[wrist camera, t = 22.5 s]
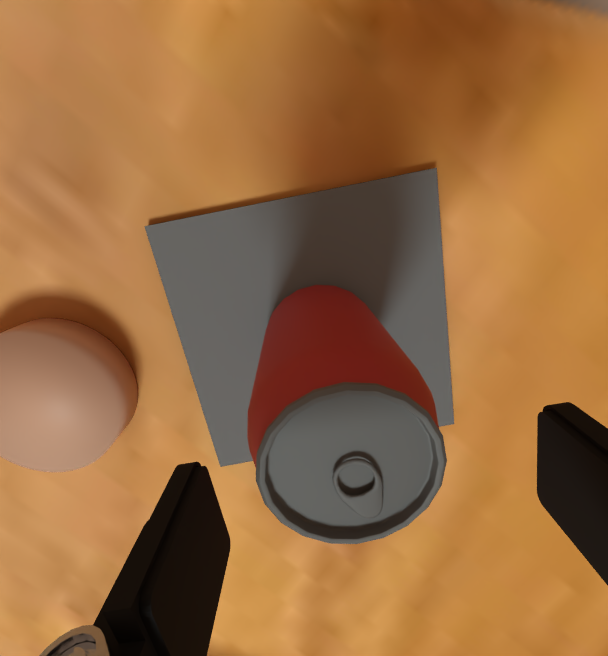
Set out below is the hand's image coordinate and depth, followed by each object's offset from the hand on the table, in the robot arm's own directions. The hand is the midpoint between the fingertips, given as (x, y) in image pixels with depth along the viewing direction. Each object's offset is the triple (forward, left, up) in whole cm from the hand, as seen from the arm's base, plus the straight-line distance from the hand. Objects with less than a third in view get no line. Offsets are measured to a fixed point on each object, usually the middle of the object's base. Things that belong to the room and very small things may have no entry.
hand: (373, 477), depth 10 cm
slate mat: (+1, 0, -13) cm, 13 cm away
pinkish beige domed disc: (+17, 0, -13) cm, 21 cm away
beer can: (0, 0, -13) cm, 12 cm away
